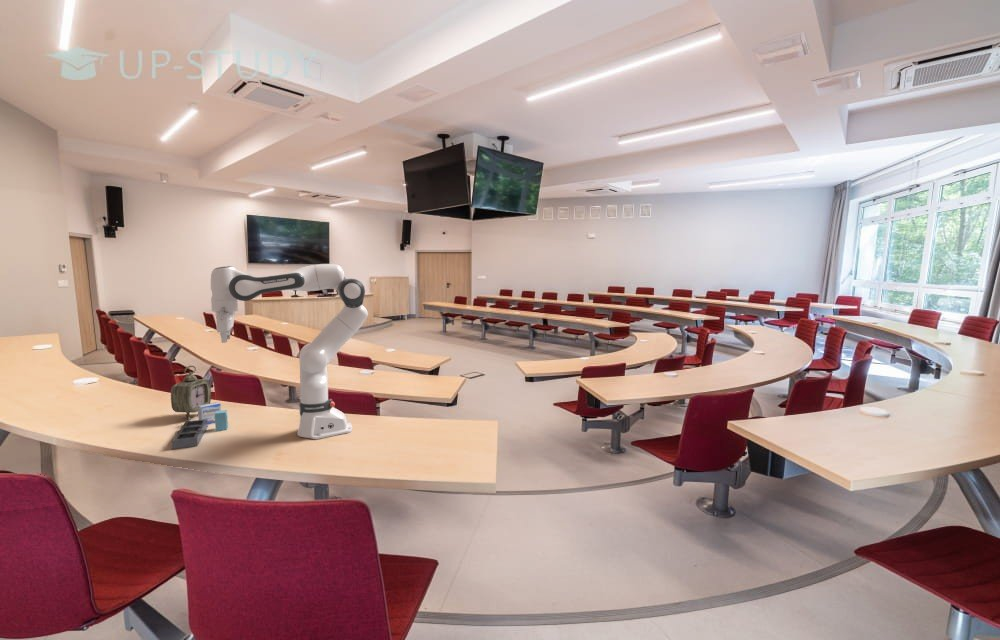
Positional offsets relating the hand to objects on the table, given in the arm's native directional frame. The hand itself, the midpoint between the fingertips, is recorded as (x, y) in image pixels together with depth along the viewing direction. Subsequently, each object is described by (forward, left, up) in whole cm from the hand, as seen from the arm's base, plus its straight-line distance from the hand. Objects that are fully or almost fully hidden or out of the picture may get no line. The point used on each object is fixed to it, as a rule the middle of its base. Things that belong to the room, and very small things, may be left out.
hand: (225, 340), depth 168 cm
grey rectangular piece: (+15, -10, -42) cm, 45 cm away
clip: (+5, -16, -42) cm, 45 cm away
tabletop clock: (+20, -40, -42) cm, 61 cm away
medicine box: (+11, -28, -42) cm, 51 cm away
